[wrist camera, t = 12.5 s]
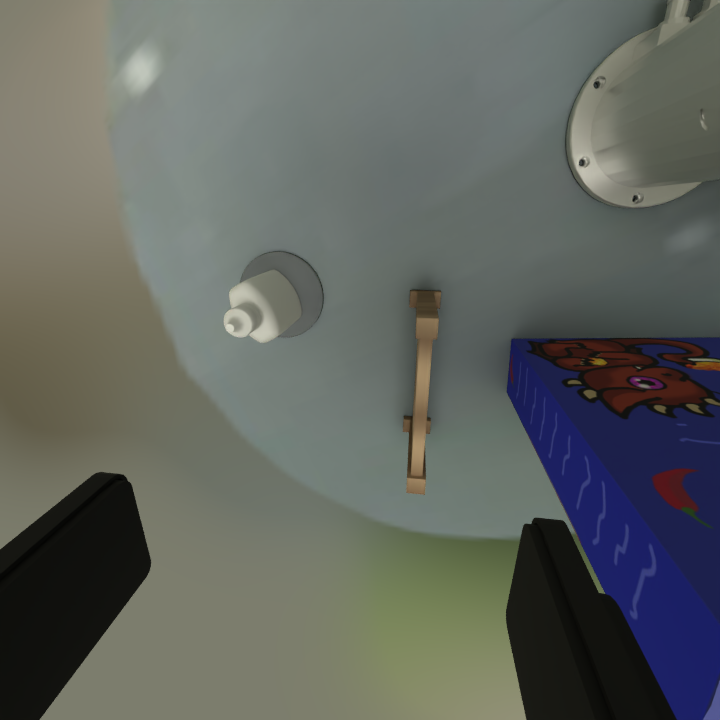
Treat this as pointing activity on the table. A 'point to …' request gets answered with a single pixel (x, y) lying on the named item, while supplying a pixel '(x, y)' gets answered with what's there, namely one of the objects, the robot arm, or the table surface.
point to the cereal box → (639, 487)
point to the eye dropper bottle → (262, 307)
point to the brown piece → (421, 386)
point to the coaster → (299, 278)
